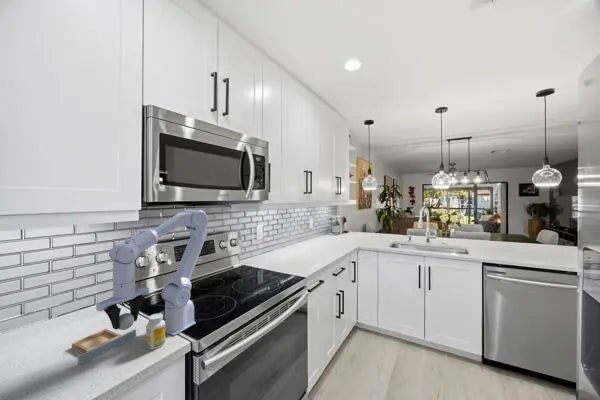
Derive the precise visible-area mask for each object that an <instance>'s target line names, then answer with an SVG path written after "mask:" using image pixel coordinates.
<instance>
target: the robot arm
mask: <svg viewBox="0 0 600 400" xmlns="http://www.w3.org/2000/svg"><path fill="white" fill-rule="evenodd" d="M208 223H209V216H208V214H206V212H205V211H204V210H202V209H198V210H194V209H184V210H182V211H180V212H178V213H176V214H175V215H173V216H172V217H171V218H169V219H167V220H166V221H164V222H162V223H161V224H159V225H158V226H157V227H155V228H153V229H150V228H146V229H141V230H139V231H138V232H139V233H138V234H136V235H134V236H132V237H130V238H128V237H127V238H125V239H124V242H117V243H116V244H114V245H113V246H112V248H110V252H108V256H109V258H110V259H111V260H112V292H113V293H112V296H111V297H109V298H107V299H105V300H103V301H100V302H98V303H96V306H95V307H96V309H95V311H97V312H103V311H104V312H105V313H106V315H107V317H108V318H109V321H110V323H111V326H112V329H114V330H120V329H119V316H120V315H121V311H122V308H121V307H119V304H123V303H126V302H127V301H128V303H129V308H130V309H129V311H130V312H129V313H130V314H132V315H133V316H134V322H137V321H138V317H139V314H140V309H141V308H142V306H143V304H144V302H145V300H146V299H145V296H144V295H149V294H150V288H149V287H146V286H145V287H142V288H141V287H140V288H138V289H136V266H135V265H136V264H135V260H137V258H138V256H139V255H140V254H141V253H144V252H145V251H146V250H148V249H149V248H151V247H152V246H154V245H156V244H157V243H158V242H159V238H161V237H163V236H165V235H166V234H168V233H169V232H172V231H174V230H175V229H177V228H179V227H184V228H185V229H187V230H188V232H189V234H190V237H189V240H188V242H187V245H186V247H185V250H184V252H183V254H182V257H181V259H180V261H179V264H178V267H177V270H176V271H175V275H173V277H171V278H170V279H169V280H168V282H167V284H166V285H165V286H163V289H162V291H161V298H162V299H163V300H164V321H165V334H168V335H171V336H177V335H178V334H180V333H181V332H183V331H185V330H187V329H188V328H190V327H192V326H194V325H196V323H197V322H196V321H195V305H194V302H193V300H191V299H190V298H191V290H192V283H191V277H192V274H193V272H194V269H195V266H196V264H197V262H198V259H199V257H200V253H201V252H202V249H203V246H204V243H205V241H206V239H207V237H208Z"/></svg>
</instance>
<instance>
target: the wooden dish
mask: <svg viewBox="0 0 600 400" xmlns="http://www.w3.org/2000/svg"><path fill="white" fill-rule="evenodd" d="M121 335H122V334H120V333H116V332H114V331H112V330H110V329H107V328H104V329H102V330H99V331H97V332H95V333H93V334H90V335H87V336H86V337H82V338H81V339H78V340H77V341H74V342H72V343H71V349H73V350H75V351H77V352H79V353H81V354H84V353H86V352H88V351H90V350H92V349H94V348H96V347H98V346H100V345H103V344H105V343H107V342H109V341H111V340H113V339H115V338H117V337H119V336H121Z"/></svg>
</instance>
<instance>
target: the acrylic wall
mask: <svg viewBox="0 0 600 400" xmlns="http://www.w3.org/2000/svg"><path fill="white" fill-rule="evenodd" d="M120 335H121V336H119V337H117V338H115V339H113V340H111V341H109V342H107V343H105V344H103V345H100V346H98V347H96V348H94V349H92V350H90V351H88V352H86V353H84V354H82V353H81V354H79V355H78V356H77V365H78V366H81V365H83V364H86V363H87V362H90V361H91V360H93V359H95V358H97V357H99V356H101V355H103V354H105V353H108V352H109V351H111V350H113V349H115V348H117V347H119V346H121V345H123V344H125V343H127V342H130V341H131V340H133V339H135V338H136V337H137V329H135V328H134V329H132V330H130V331H128V332H126V333H123V334H120Z"/></svg>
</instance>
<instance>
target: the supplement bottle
mask: <svg viewBox="0 0 600 400" xmlns="http://www.w3.org/2000/svg"><path fill="white" fill-rule="evenodd" d="M163 317H164V316H163V313H161V312H160V313H153V314H151V315H149V317H148V322H147V324H146V326H145V329H146V330H145V335H146V336H145V344H146V348H147V350H157V349H159V348H161V347H163V346H164V345H165V343H166V332H165V319H164V318H163Z"/></svg>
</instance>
